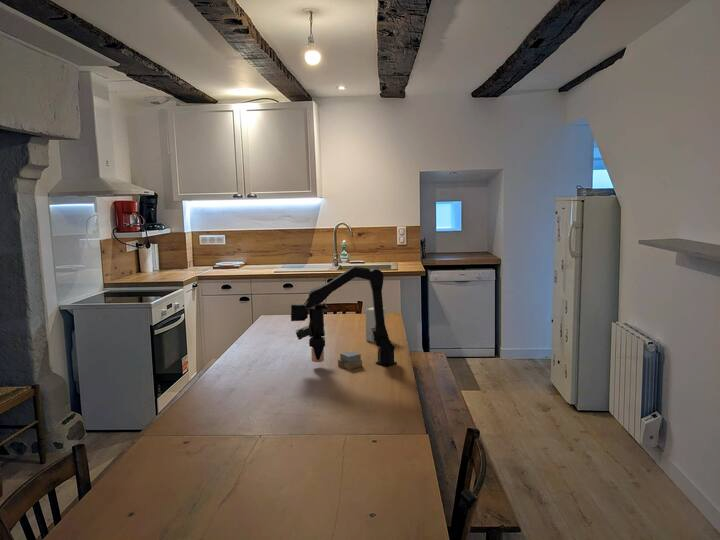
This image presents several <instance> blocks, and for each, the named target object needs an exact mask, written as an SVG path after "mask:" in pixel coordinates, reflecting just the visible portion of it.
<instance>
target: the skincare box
mask: <svg viewBox="0 0 720 540" xmlns="http://www.w3.org/2000/svg"><path fill="white" fill-rule="evenodd" d="M383 312H384V323H385V324H386V308H385V307H383ZM374 326H375V319H374V308H373V307H369V308H365V340H366V342H370V343H375V341H373V339H372V331H371V328H374Z"/></svg>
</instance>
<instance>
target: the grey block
mask: <svg viewBox="0 0 720 540" xmlns="http://www.w3.org/2000/svg"><path fill="white" fill-rule="evenodd" d="M339 355H340V356H339V360H340V359H341V360H343V361H345V362H347V363H350V362H355V361H359V360H362V358H361V357H362V356H361V353H358V352H356V351H354V350H351V351H350V350H349V351H346V352H342V353H340V354H339Z"/></svg>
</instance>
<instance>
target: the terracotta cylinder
mask: <svg viewBox="0 0 720 540" xmlns="http://www.w3.org/2000/svg"><path fill="white" fill-rule="evenodd" d="M310 348H311V349H310V350H311V352H310V353H311V362H312V363H313V362H314V363H322V362H324V361H325V354H324V353H325V351H324V350H325V349H324V348H325V347H324V348H323V351H322V354H321V356H320V359H319V360H316V356H315V352H314V348H313V347H310Z"/></svg>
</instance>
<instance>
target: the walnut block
mask: <svg viewBox="0 0 720 540" xmlns="http://www.w3.org/2000/svg"><path fill="white" fill-rule="evenodd" d="M339 366H340V367H339ZM360 366H361V367H363V359H361V360H359V361H355V362H350V363H347V362H345V361H343V360H341V359H340V358H339V359H338V360H337V367H339V368H342V367H343V368H342V369H345V368H346V369H345V370H347V369H348V371H351V370H354V368H355V369H357V367H358V368H361V367H360ZM350 369H351V370H350Z"/></svg>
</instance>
